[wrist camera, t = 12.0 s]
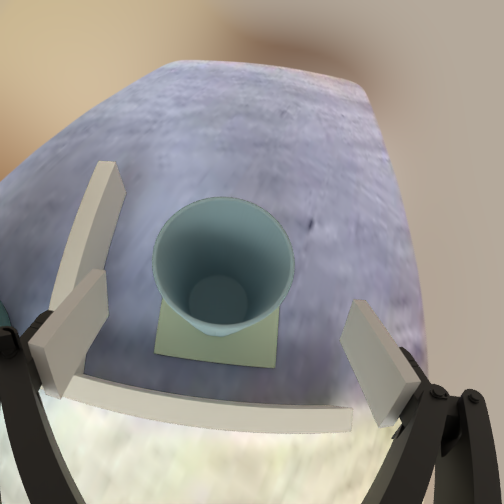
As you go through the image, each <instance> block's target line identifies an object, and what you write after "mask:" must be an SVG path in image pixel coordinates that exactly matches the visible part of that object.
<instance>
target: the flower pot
mask: <svg viewBox="0 0 504 504" xmlns="http://www.w3.org/2000/svg"><path fill="white" fill-rule="evenodd" d="M1 326H11V324H10V320H9V317H8V314H7V312H6V310H5V308H4V306H3V304H2V303H1V301H0V327H1Z"/></svg>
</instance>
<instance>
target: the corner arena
mask: <svg viewBox="0 0 504 504" xmlns="http://www.w3.org/2000/svg"><path fill="white" fill-rule="evenodd" d="M125 196H126V190H125V187H124V185H123V182H122V179H121V176H120V173H119V170H118V167H117V164H116V162H111V161H98V163H97V165H96V168H95V170H94V172H93V174H92V177H91V179H90V182H89V184H88V186H87V189H86V191H85V194H84V196H83V199H82V201H81V204H80V206H79V209H78V212H77V214H76V217H75V220H74V223H73V226H72V228H71V231H70V234H69V237H68V240H67V243H66V247H65V250H64V253H63V256H62V260H61V263H60V266H59V270H58V273H57V277H56V281H55V285H54V288H53V292H52V296H51V301H50V305H49V309H48V310H52V311H55V310H56V308H57V307H58V306H59V305H60V304H61V303H62V302H63V300H64V299H65V298H66V297H67V296H68V295H69V294H70V293H71V292H72V291H73V289H74V288H75V287H76V286H77V285H78V284H79V283H80V282H81V281H82V280H83V279H84V278H85V277H86V275H87V274H88V273H89V272H90V271H91V270H92V269H99V270H104V266H105V262H106V259H107V255H108V251H109V248H110V244H111V241H112V237H113V234H114V230H115V227H116V224H117V220H118V217H119V214H120V211H121V208H122V205H123V202H124V199H125ZM278 319H279V306H278V307H277V308H276V309H275V310H274V311H273V312H272V313H271V314H270V315H269V316H267V317H266V318H264V319H263V320H261V321H259V322H257V323H255V324H253V325H251V326H249V327H246V328H244V329H242V330H240V331H238V332H236V333H233V334H230V335H228V336H224V337H217V336H209V335H206V334H204V333H203V332H201V331H199V330H198V329H196V328H195V327H194V326H192V325H191V324H190V323H189V322H188V321H186V320H185V319H184V318H182V317H181V316H180V315H179V314H177V313H176V312H175V311H174V310H173V309H172V308H171V307H170V306H169V305H168V304H167V302H166V301H165V300H164V298H163V297H162V303H161V309H160V315H159V321H158V327H157V334H156V341H155V348H154V354H160V355H166V356H172V357H178V358H185V359H192V360H199V361H206V362H214V363H223V364H232V365H241V366H252V367H264V368H275V362H276V349H277V334H278ZM85 359H86V355H85V356H84V358H83V360H82V362H81V363H80V365H79V367H78V369H77V370H76V372H75V374H74V376H73V378H72V379H71V381H70V383H69V385H68V387H67V389H66V390H65V392H64V394H63V396H62V397H65V398H68V399H72V400H75V401H78V402H81V403H85V404H88V405H91V406H95V407H99V408H102V409H106V410H110V411H114V412H118V413H122V414H126V415H131V416H135V417H140V418H145V419H150V420H155V421H160V422H166V423H172V424H178V425H184V426H191V427H199V428H207V429H216V430H226V431H238V432H253V433H277V434H315V433H339V432H351V430H352V418H353V408H347V407H339V406H331V405H281V404H261V403H247V402H235V401H225V400H216V399H207V398H199V397H192V396H185V395H179V394H172V393H166V392H161V391H155V390H150V389H145V388H140V387H135V386H130V385H125V384H121V383H117V382H112V381H108V380H104V379H100V378H96V377H93V376H89V375H85V374H83V373H84V366H85ZM40 389H43V386H41V387H40ZM43 390H44V389H43Z"/></svg>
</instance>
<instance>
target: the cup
mask: <svg viewBox="0 0 504 504" xmlns="http://www.w3.org/2000/svg"><path fill="white" fill-rule="evenodd" d="M294 266H295V262H294V253H293V249H292V245H291V242H290V240H289V238H288V236H287V234H286V232H285V230H284V229H283V227H282V226H281V225H280V223H279V222H278V221H277V220H276V219H275V218H274V217H273V216H272V215H271V214H269V213H268V212H267V211H265V210H264V209H262V208H261V207H259V206H257V205H255V204H253V203H251V202H248V201H245V200H242V199H237V198H232V197H212V198H206V199H202V200H199V201H196V202H193V203H191V204H189V205H187V206H185V207H183V208H182V209H180V210H179V211H178V212H176V213H175V214H174V215H173V216H172V217H171V218H170V219H169V220H168V221H167V222H166V223H165V225H164V226H163V228H162V229H161V231H160V233H159V235H158V237H157V239H156V242H155V245H154V249H153V255H152V269H153V275H154V279H155V282H156V285H157V287H158V290H159V292H160V294H161V295H162V297H163V298H164V300H165V301H166V302H167V304H168V305H169V306H170V307H171V308H172V309H173V310H174V311H175V312H176V313H177V314H179V315H180V316H181V317H182V318H184V319H185V320H186V321H188V322H189V323H190V324H191V325H192V326H194V327H195V328H196V329H198V330H199V331H201V332H203V333H204V334H206V335H209V336H217V337H224V336H228V335H230V334H233V333H236V332H238V331H240V330H242V329H244V328H246V327H249V326H251V325H253V324H255V323H257V322H259V321H261V320H263V319H264V318H266V317H267V316H269V315H270V314H271V313H272V312H273V311H274V310H275V309H276V308H277V307H278V306H279V305H280V304H281V303H282V301H283V300H284V298H285V297H286V295H287V293H288V291H289V289H290V287H291V284H292V281H293V276H294Z"/></svg>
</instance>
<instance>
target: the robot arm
mask: <svg viewBox="0 0 504 504" xmlns="http://www.w3.org/2000/svg"><path fill="white" fill-rule="evenodd" d="M108 316H109V309H108V297H107V283H106V271H105V270H99V269H92V270H91V271H90V272H89V273H88V274H87V275H86V277H85V278H84V279H83V280H82V281H81V282H80V283H79V284H78V285H77V286H76V287H75V288H74V289H73V291H72V292H71V293H70V294H69V295H68V296H67V297H66V298H65V299H64V300H63V302H62V303H61V304H60V305H59V306H58V307H57V308H56V310H55V311H52V310H47V311H45V312H44V313H42V314H40V315H39V316H38V317H37V318H36V320H35V321H34V322H33V323H32V324H31V325H30V327H28V329H27V330H26V331H25V332H24V333H23V334H22V336H21V337H20V338H19V335H18V332H17V330H16V329H15V328H14V327H11V326H1V327H0V406H1V404H2V409H3V414H4V419H5V424H6V428H7V432H8V436H9V440H10V444H11V448H12V451H13V455H14V458H15V462H16V465H17V468H18V471H19V474H20V477H21V480H22V483H23V485H24V488H25V491H26V493H27V496H28V499H29V501H30V503H31V504H86V503H85V501H84V499H83V497H82V495H81V494H80V492H79V490H78V488H77V486H76V484H75V482H74V480H73V478H72V476H71V474H70V472H69V470H68V468H67V465H66V463H65V461H64V459H63V457H62V454H61V452H60V450H59V447H58V445H57V442H56V440H55V437H54V435H53V432H52V429H51V427H50V424H49V421H48V419H47V416H46V413H45V410H44V407H43V404H42V401H41V397H40V395H39V392H38V390H39V389H40V387H41V386H43V389H44V391H45V394H46V395H49V396H52V397H55V398H58V399H61V398H62V396H63V394H64V392H65V390H66V389H67V387H68V385H69V383H70V381H71V379H72V378H73V376H74V374H75V372H76V370H77V369H78V367H79V365H80V363H81V362H82V360H83V358H84V356H85V355H86V353H87V351H88V349H89V348H90V346H91V344H92V343H93V341H94V339H95V338H96V336H97V334H98V333H99V331H100V329H101V328H102V326H103V324H104V323H105V321H106V320H107V318H108ZM339 341H340V343H341V345H342V347H343V349H344V351H345V353H346V356H347V358H348V360H349V362H350V364H351V367H352V369H353V371H354V373H355V375H356V378H357V380H358V382H359V384H360V387H361V389H362V391H363V393H364V396H365V398H366V400H367V402H368V405H369V407H370V409H371V412H372V414H373V416H374V419H375V421H376V423H377V426H378V428H382V427H389V426H393V425H394V424H395V422H396V421H397V419H398V418H400V420H401V422H402V424H401V425H400V427H399V428H398V430H397V431H396V432H395V434H394V435H393V437H392V438H391V439H394V440H393V442H392V445H391V447H390V449H389V451H388V453H387V456H386V458H385V460H384V462H383V464H382V466H381V468H380V470H379V472H378V474H377V476H376V478H375V480H374V482H373V484H372V486H371V487H370V489H369V491H368V493H367V495H366V496H365V498H364V500H363V502H362V503H361V504H422V501H423V499H424V496H425V493H426V490H427V487H428V484H429V481H430V478H431V475H432V471H433V468H434V465H435V488H434V489H435V490H434V504H502V502H501V489H500V479H499V471H498V463H497V457H496V451H495V445H494V439H493V434H492V429H491V424H490V420H489V415H488V411H487V407H486V403H485V400H484V397H483V396H482V395H481V394H480V393H479V392H477V391H476V390H473V389H467V390H465V391H464V392H463V393H462V395H461V397H456V396H449V394H448V392H447V391H446V390H445V389H444V388H443V387H441V386H439V385H436V384H431V383H430V382H429V380H428V379H427V377H426V376H425V374H424V373H423V371H422V370H421V368H420V367H418V366H419V365H418V364H417V362H416V361H415V360H414V358H413V357H412V355H411V354H410V353H409V352H408V351H407V350H406V349H404V348H403V347H398V346H397V344H396V343H395V341H394V340H393V338H392V337H391V335H390V334H389V333H388V331H387V330H386V328H385V327H384V325H383V324H382V323H381V321H380V320H379V318H378V317H377V315H376V314H375V313H374V311H373V310H372V308H371V307H370V306H369V304H368V303H367V301H366V300H355V299H353V302H352V305H351V308H350V311H349V314H348V317H347V320H346V323H345V326H344V329H343V332H342V335H341V338H340V340H339ZM0 504H2V503H1V493H0Z"/></svg>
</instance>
